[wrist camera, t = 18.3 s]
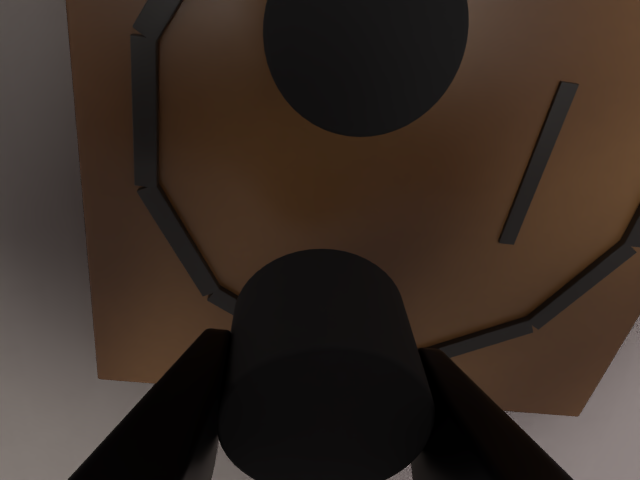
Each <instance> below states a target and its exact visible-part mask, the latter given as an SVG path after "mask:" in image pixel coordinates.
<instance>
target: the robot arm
mask: <svg viewBox="0 0 640 480" xmlns="http://www.w3.org/2000/svg"><path fill="white" fill-rule="evenodd" d="M230 340H231V332H230V331H229V330H224V329H213V328H208V329H206V330H204V331H203V332H202V334H201V335H200V336H199V337H198V338H197V339H196V340H195V341H194V342H193V343H192V344H191V346H190V347H189V348H188V349H187V350H186V351H185V352H184V353H183V354H182V355H181V356H180V358H179V359H178V360H177V361H176V362H175V363H174V364H173V365H172V366H171V367H170V368H169V370H168V371H167V372H166V373H165V374H164V375H163V376H162V377H161V378H160V379H159V380H158V382H157V383H156V384H155V385H154V386H153V387H152V388H151V389H150V390H149V391H148V392H147V394H146V395H145V396H144V397H143V398H142V399H141V400H140V401H139V402H138V403H137V404H136V406H135V407H134V408H133V409H132V410H131V411H130V412H129V413H128V414H127V415H126V417H125V418H124V419H123V420H122V421H121V422H120V423H119V424H118V425H117V426H116V427H115V429H114V430H113V431H112V432H111V433H110V434H109V435H108V436H107V437H106V438H105V439H104V441H103V442H102V443H101V444H100V445H99V446H98V447H97V448H96V449H95V450H94V451H93V453H92V454H91V455H90V456H89V457H88V458H87V459H86V460H85V461H84V462H83V463H82V465H81V466H80V467H79V468H78V469H77V470H76V471H75V472H74V473H73V474H72V475H71V477H70V478H69V479H68V480H211V478H212V474H213V470H214V465H215V460H216V454H217V447H218V440H219V438H218V434H217V430H218V417H219V407H220V400H221V395H222V389H223V383H224V377H225V371H226V365H227V358H228V352H229V346H230ZM418 352H419V355H420V358H421V361H422V365H423V368H424V371H425V374H426V378H427V381H428V384H429V387H430V390H431V394H432V397H433V401H434V405H435V420H434V426H433V429H432V432H431V435H430V437H429V439H428V442H427V444H426V446H425V447H424V449H423V450H422V452H421V453H420V454H419V455H418V456H417V457H416V459H415V460H414V461H413V462H411V468H412V476H413V480H573V479H572V478H571V477H570V476H569V475H568V474H567V473H566V472H565V471H564V470H563V469H562V468H561V467H560V466H559V465H558V464H557V463H556V462H555V461H554V460H553V459H552V458H551V457H550V456H549V455H548V454H547V453H546V452H545V451H544V450H543V449H542V448H541V447H540V446H539V445H538V444H537V443H536V442H535V441H534V440H533V439H532V438H531V437H530V436H529V435H528V434H527V433H526V432H525V431H524V430H523V429H521V428H520V427H519V426H518V425H517V424H516V423H515V422H514V421H513V420H512V419H511V418H510V417H509V416H508V415H507V414H506V413H505V412H504V411H503V410H502V409H501V408H500V407H499V406H498V405H497V404H496V403H495V402H494V401H493V400H492V399H491V398H490V397H489V396H488V395H487V394H486V393H485V392H484V391H483V390H482V389H481V388H480V387H479V386H478V385H477V384H476V383H475V382H474V381H473V380H472V379H471V378H470V377H468V376H467V375H466V374H465V373H464V372H463V371H462V370H461V369H460V368H459V367H458V366H457V365H456V364H455V363H454V362H453V361H452V360H451V359H450V358H449V357H448V356H447V355H446V354H445V353H444V352H443V351H441V350H439V349H431V348H418Z"/></svg>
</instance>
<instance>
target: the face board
mask: <svg viewBox="0 0 640 480" xmlns="http://www.w3.org/2000/svg"><path fill="white" fill-rule="evenodd" d="M266 2H267V0H66V10H67V22H68V33H69V45H70V57H71V68H72V80H73V92H74V103H75V115H76V127H77V138H78V150H79V162H80V174H81V185H82V197H83V209H84V220H85V232H86V244H87V255H88V267H89V279H90V290H91V302H92V314H93V326H94V337H95V349H96V361H97V372H98V378H99V379H104V380H117V381H130V382H142V383H155V384H156V383H157V382H158V380H159V379H160V378H161V377H162V376H163V375H164V374H165V373H166V372H167V371H168V370H169V368H170V367H171V366H172V365H173V364H174V363H175V362H176V361H177V360H178V359H179V358H180V356H181V355H182V354H183V353H184V352H185V351H186V350H187V349H188V348H189V347H190V346H191V344H192V343H193V342H194V341H195V340H196V339H197V338H198V337H199V336H200V335H201V334H202V332H203V331H204V330H206V329H208V328H213V329H224V330H229V331H230V332H231V326H232V320H233V314H234V308H235V304H236V301H237V298H238V296H239V294H240V292H241V290H242V288H243V287H244V285H245V284H246V283H247V281H248V280H249V279H250V278H251V277H252V276H253V275H254V274H255V273H256V272H257V271H258V270H260V269H261V268H262V267H264V266H265V265H266V264H268V263H270V262H272V261H273V260H275V259H277V258H280V257H282V256H284V255H287V254H290V253H294V252H297V251H303V250H309V249H335V250H341V251H346V252H349V253H353V254H356V255H358V256H361V257H363V258H365V259H367V260H369V261H371V262H372V263H374V264H376V265H377V266H378V267H380V268H381V269H382V270H383V271H385V272H386V273H387V275H388V276H389V277H390V278H391V279H392V280H393V282H394V283H395V285H396V286H397V288H398V290H399V292H400V294H401V297H402V300H403V303H404V306H405V310H406V313H407V316H408V319H409V323H410V326H411V329H412V332H413V335H414V339H415V342H416V345H417V348H431V349H439V350H441V351H443V352H444V353H445V354H446V355H447V356H448V357H449V358H450V359H451V360H452V361H453V362H454V363H455V364H456V365H457V366H458V367H459V368H460V369H461V370H462V371H463V372H464V373H465V374H466V375H467V376H468V377H470V378H471V379H472V380H473V381H474V382H475V383H476V384H477V385H478V386H479V387H480V388H481V389H482V390H483V391H484V392H485V393H486V394H487V395H488V396H489V397H490V398H491V399H492V400H493V401H494V402H495V403H496V404H497V405H498V406H499V407H500V408H501V409H502V410H503V411H514V412H526V413H539V414H552V415H565V416H579V415H580V413H581V412H582V410H583V408H584V407H585V405H586V403H587V402H588V400H589V398H590V397H591V395H592V393H593V392H594V390H595V388H596V387H597V385H598V383H599V382H600V380H601V378H602V377H603V375H604V373H605V372H606V370H607V368H608V367H609V365H610V363H611V362H612V360H613V358H614V357H615V355H616V353H617V352H618V350H619V348H620V347H621V345H622V343H623V342H624V340H625V338H626V337H627V335H628V333H629V332H630V330H631V328H632V327H633V325H634V323H635V322H636V320H637V318H638V317H639V315H640V0H467V3H468V10H469V28H468V38H467V43H466V48H465V52H464V56H463V58H462V61H461V64H460V67H459V69H458V71H457V73H456V75H455V77H454V79H453V81H452V83H451V84H450V86H449V87H448V89H447V90H446V92H445V93H444V94H443V96H442V97H441V98H440V99H439V100H438V102H437V103H436V104H435V105H434V106H433V107H432V108H431V109H430V110H429V111H427V112H426V113H425V114H423V115H422V116H421V117H420V118H418V119H417V120H415V121H413V122H412V123H410V124H409V125H407V126H405V127H402V128H400V129H398V130H396V131H393V132H389V133H386V134H383V135H377V136H371V137H351V136H344V135H339V134H335V133H332V132H329V131H326V130H323V129H322V128H320V127H318V126H316V125H314V124H312V123H310V122H309V121H308V120H306V119H305V118H303V117H302V116H301V115H300V114H299V113H297V112H296V111H295V110H294V109H293V108H292V107H291V106H290V104H289V103H288V102H287V101H286V100H285V99H284V97H283V96H282V94H281V93H280V91H279V90H278V88H277V86H276V84H275V82H274V80H273V78H272V76H271V73H270V70H269V67H268V64H267V60H266V56H265V51H264V42H263V19H264V13H265V6H266Z"/></svg>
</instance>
